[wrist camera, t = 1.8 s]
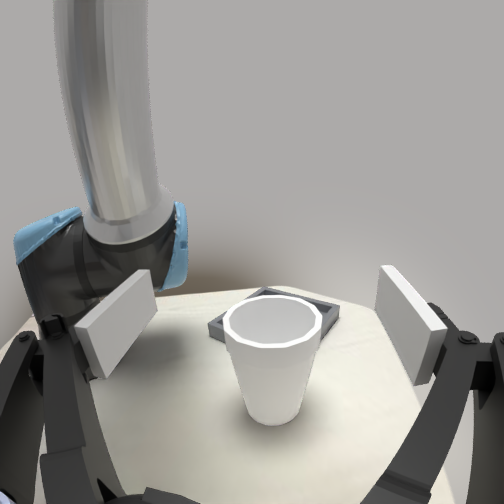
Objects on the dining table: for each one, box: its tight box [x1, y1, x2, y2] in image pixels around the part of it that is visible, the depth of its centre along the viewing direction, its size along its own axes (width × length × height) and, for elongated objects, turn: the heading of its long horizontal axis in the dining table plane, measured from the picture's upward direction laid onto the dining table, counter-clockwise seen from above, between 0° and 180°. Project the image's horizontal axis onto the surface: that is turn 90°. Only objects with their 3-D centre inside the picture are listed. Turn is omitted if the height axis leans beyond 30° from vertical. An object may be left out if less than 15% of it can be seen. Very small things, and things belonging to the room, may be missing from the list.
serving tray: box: [208, 287, 340, 343], centre depth 47 cm, size 16×16×2 cm
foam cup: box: [222, 295, 322, 426], centre depth 29 cm, size 10×9×13 cm
